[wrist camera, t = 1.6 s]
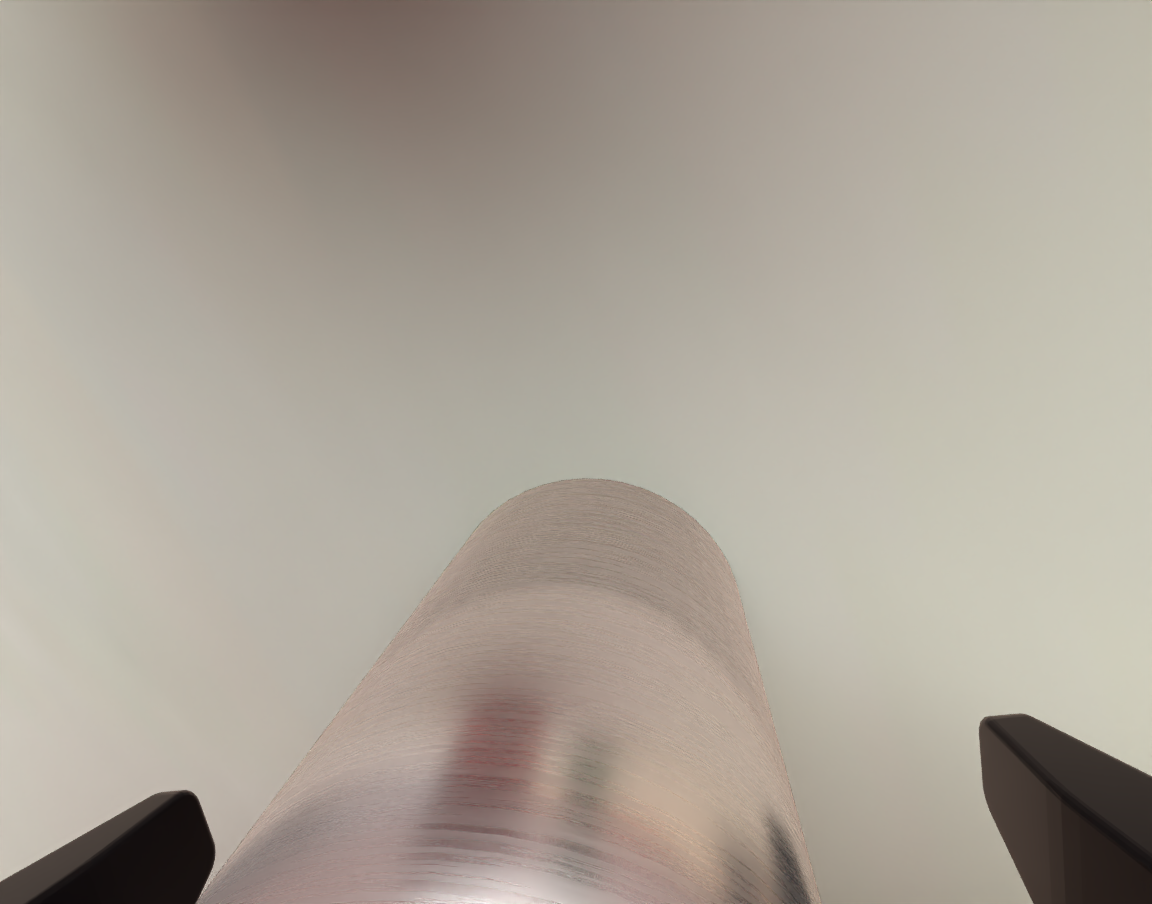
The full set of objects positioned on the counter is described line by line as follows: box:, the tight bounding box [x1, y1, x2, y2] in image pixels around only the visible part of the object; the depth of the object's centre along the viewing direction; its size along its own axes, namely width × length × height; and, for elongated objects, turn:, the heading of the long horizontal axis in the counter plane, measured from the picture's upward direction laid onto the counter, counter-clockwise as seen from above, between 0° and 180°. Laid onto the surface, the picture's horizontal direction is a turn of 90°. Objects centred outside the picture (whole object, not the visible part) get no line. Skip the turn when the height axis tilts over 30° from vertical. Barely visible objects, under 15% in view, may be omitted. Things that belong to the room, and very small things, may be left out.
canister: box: [195, 478, 821, 904], centre depth 7 cm, size 5×5×10 cm
